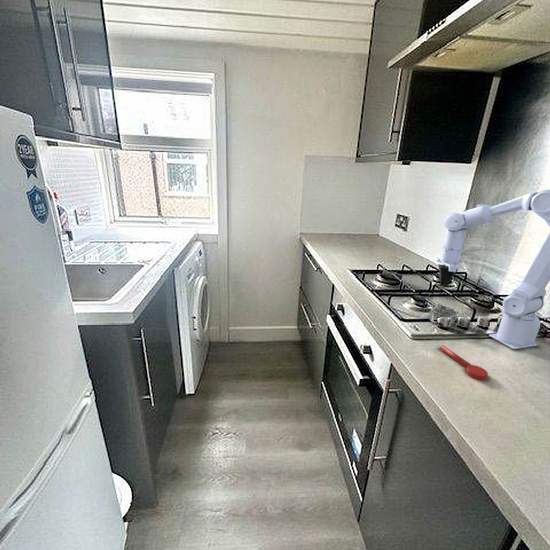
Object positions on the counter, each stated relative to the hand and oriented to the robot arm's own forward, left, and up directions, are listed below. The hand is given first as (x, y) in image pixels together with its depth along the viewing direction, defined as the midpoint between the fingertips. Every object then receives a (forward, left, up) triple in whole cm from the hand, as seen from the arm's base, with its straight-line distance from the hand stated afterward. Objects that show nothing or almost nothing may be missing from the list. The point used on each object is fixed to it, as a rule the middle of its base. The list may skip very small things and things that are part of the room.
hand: (443, 285), depth 108 cm
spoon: (+20, +30, -9) cm, 37 cm away
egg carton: (+5, +8, -10) cm, 13 cm away
